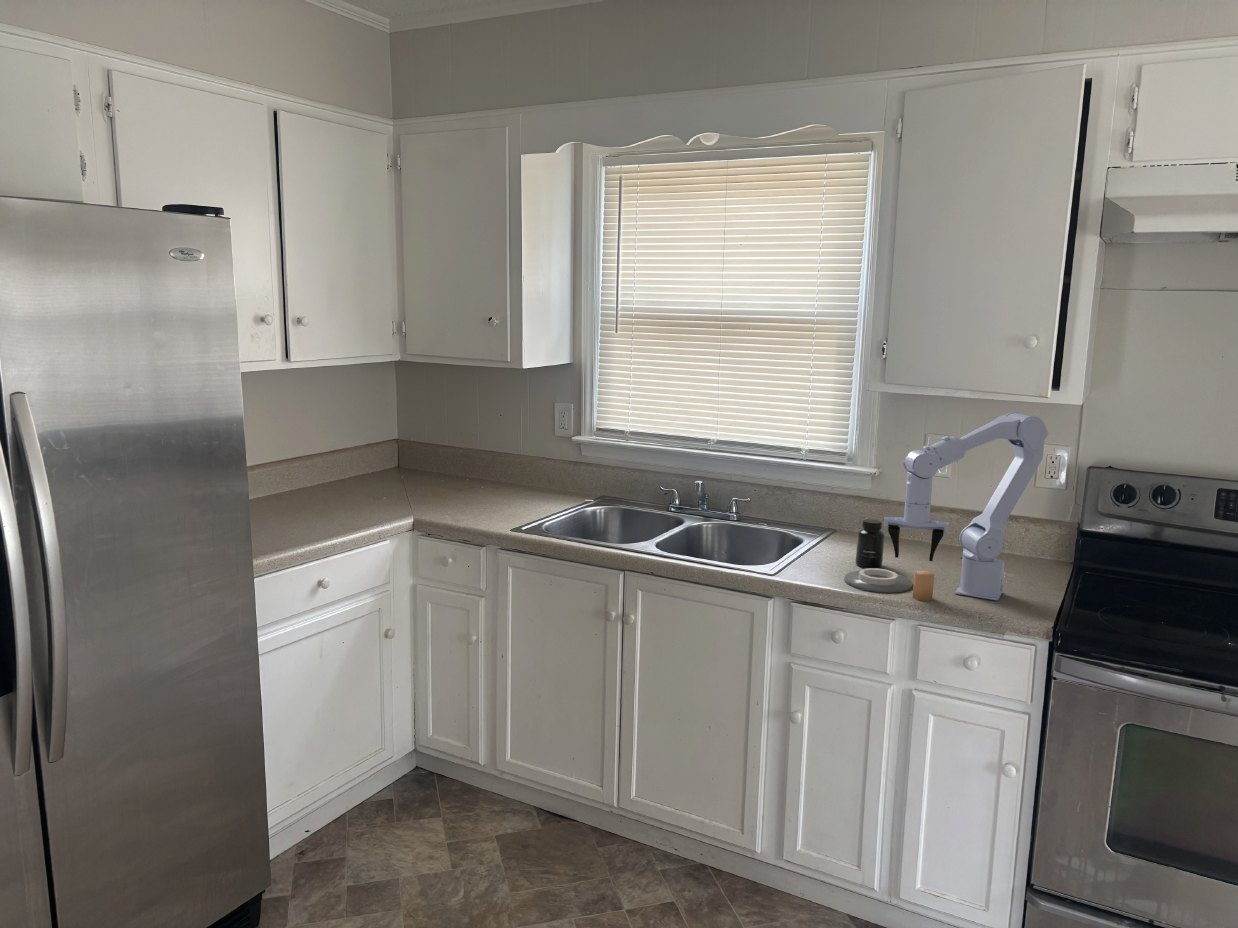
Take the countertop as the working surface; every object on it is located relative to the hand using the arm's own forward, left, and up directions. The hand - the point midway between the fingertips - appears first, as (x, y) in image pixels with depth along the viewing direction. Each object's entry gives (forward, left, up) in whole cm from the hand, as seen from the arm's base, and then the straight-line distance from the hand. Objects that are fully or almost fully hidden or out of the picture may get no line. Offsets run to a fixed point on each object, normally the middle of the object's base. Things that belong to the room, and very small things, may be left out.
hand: (913, 558), depth 213 cm
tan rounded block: (-3, +2, -9) cm, 9 cm away
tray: (+9, -4, -9) cm, 13 cm away
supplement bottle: (+15, -18, -9) cm, 25 cm away
